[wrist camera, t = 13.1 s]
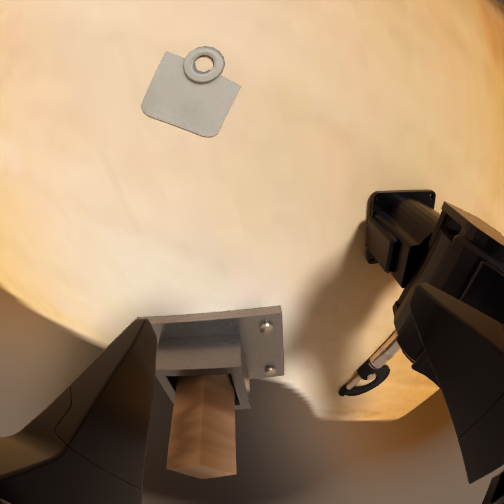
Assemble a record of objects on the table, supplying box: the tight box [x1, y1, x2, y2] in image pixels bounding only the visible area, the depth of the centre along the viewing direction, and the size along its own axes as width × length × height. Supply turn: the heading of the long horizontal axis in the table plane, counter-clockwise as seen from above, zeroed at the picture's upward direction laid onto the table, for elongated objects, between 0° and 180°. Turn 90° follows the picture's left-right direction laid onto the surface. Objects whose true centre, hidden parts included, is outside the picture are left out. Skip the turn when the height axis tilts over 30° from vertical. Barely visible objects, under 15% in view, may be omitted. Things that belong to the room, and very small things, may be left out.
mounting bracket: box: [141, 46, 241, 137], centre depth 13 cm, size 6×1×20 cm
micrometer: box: [339, 330, 400, 396], centre depth 31 cm, size 15×7×2 cm, turn 155°
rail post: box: [167, 374, 236, 479], centre depth 22 cm, size 4×4×12 cm
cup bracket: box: [137, 305, 284, 410], centre depth 26 cm, size 14×10×5 cm
